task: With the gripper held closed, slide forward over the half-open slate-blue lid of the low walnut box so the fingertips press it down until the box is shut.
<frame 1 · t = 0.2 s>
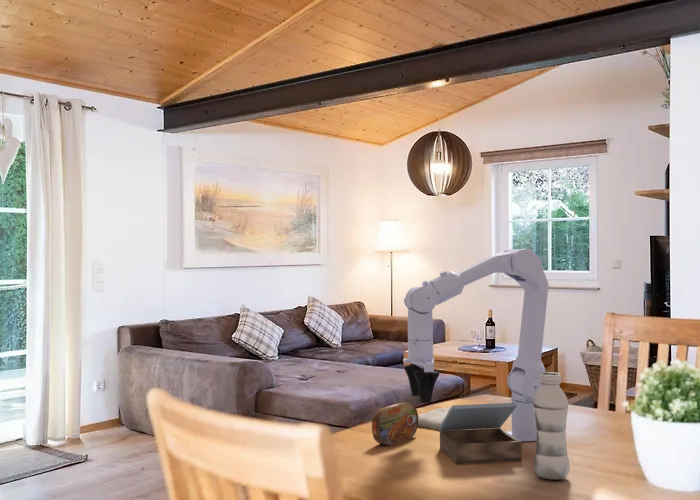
hand: (421, 399, 166), 10 cm above the table, fingers open, 7 cm apart
box: (479, 454, 156), on the table
lid: (477, 416, 157), point 8 cm above the table, hinge at 35.0°
washcloth: (450, 425, 186), on the table
tin: (395, 442, 168), on the table
plastic bottle: (551, 479, 139), on the table
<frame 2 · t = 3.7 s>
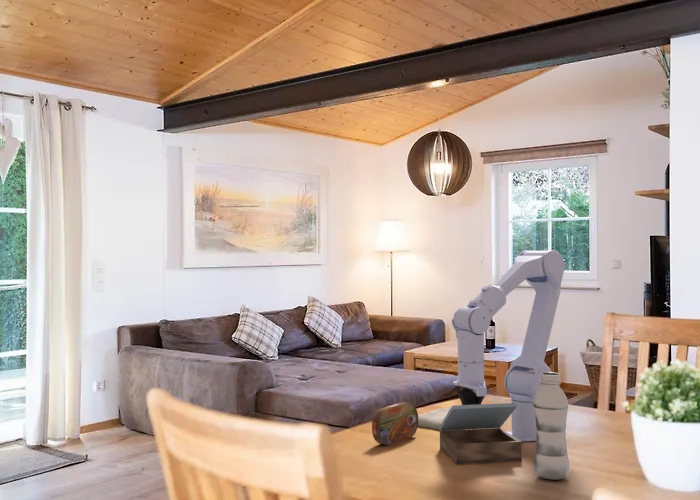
hand: (471, 422, 161), 6 cm above the table, fingers closed, pressing on lid
lid: (477, 416, 157), point 8 cm above the table, hinge at 34.7°, touching gripper
everything else where it was.
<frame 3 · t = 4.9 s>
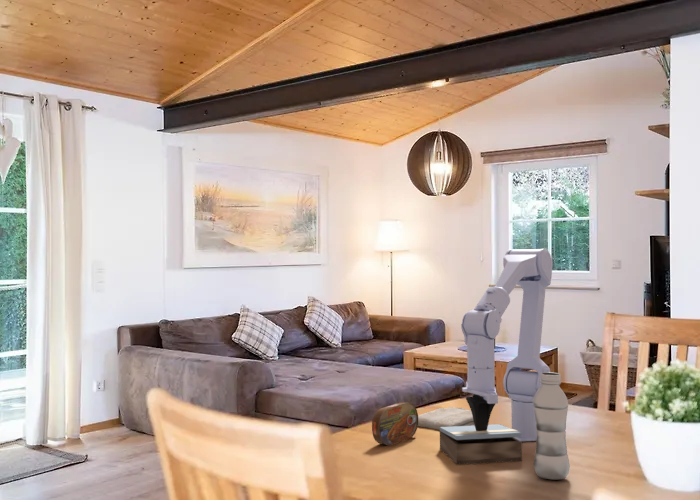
hand: (481, 431, 155), 5 cm above the table, fingers closed, pressing on lid
lid: (479, 431, 156), point 5 cm above the table, hinge at 4.7°, touching gripper
everything else where it was.
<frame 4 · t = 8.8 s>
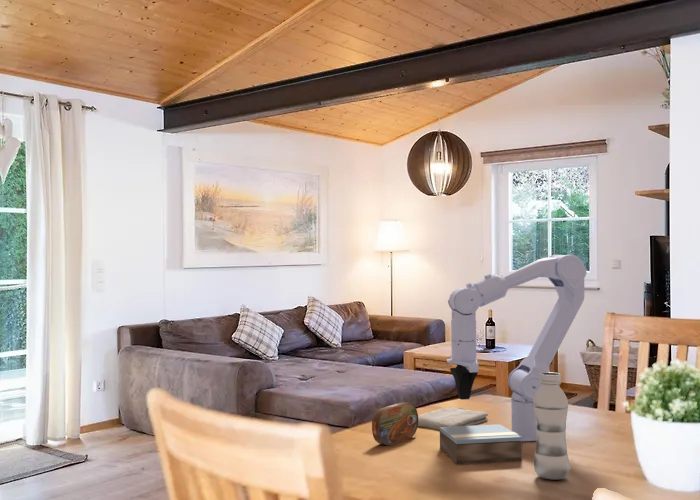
hand: (464, 398, 169), 9 cm above the table, fingers closed
lid: (479, 433, 156), point 5 cm above the table, hinge at 0.7°
everything else where it was.
at the end: lid at +1° (first picture: +35°); the gripper is holding nothing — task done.
